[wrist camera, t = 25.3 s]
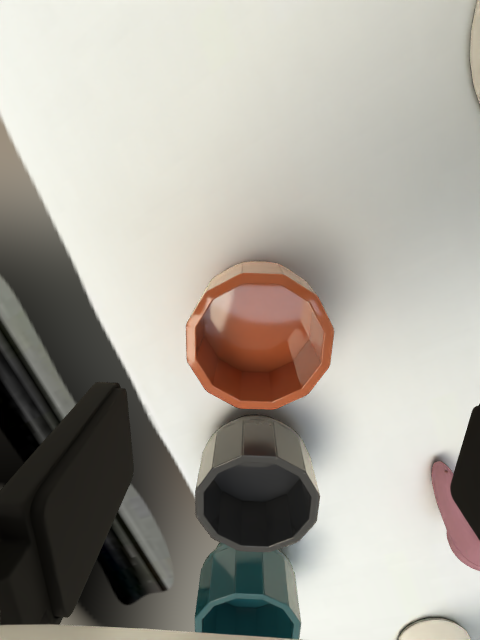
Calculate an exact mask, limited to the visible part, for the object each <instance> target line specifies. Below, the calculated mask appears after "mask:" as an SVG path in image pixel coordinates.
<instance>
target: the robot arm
mask: <svg viewBox="0 0 480 640" xmlns="http://www.w3.org/2000/svg"><path fill="white" fill-rule="evenodd" d="M470 64H471V71H472V78H473V86H474V89H475V92H476V95H477V97H478V100H479V103H480V0H477V4H476V9H475V14H474V19H473V24H472V29H471V45H470ZM133 471H134V464H133V454H132V443H131V433H130V423H129V412H128V401H127V392H126V390H125V389H122V388H120V385H119V384H118V383H108V382H96V383H95V384H94V385H93V386H92V387H91V388H90V389H89V391H88V392H87V393H86V394H85V395H84V396H83V397H82V399H81V400H80V401H79V402H78V403H77V404H76V405H75V407H74V408H73V409H72V410H71V411H70V412H69V413H68V415H67V416H66V417H65V418H64V419H63V420H62V421H61V423H60V424H59V425H58V426H57V427H56V428H55V429H54V430H53V432H52V433H51V434H50V435H49V436H48V437H47V438H46V439H45V440H44V441H43V443H42V444H41V445H40V446H39V447H38V448H37V449H36V451H35V452H34V453H33V454H32V455H31V456H30V457H29V458H28V460H27V461H26V462H25V463H24V464H23V465H22V466H21V468H20V469H19V470H18V471H17V472H16V473H15V474H14V476H13V477H12V478H11V479H10V480H9V481H8V482H7V484H6V485H5V486H4V487H3V488H2V489H1V490H0V640H301V639H287V638H272V637H257V636H243V635H228V634H213V633H198V632H182V631H169V630H154V629H153V630H152V629H138V628H137V629H136V628H116V627H94V626H93V627H92V626H74V625H73V626H72V625H60V622H61V620H62V618H63V617H69V616H70V615H71V614H72V612H73V610H74V608H75V606H76V604H77V602H78V599H79V597H80V595H81V593H82V591H83V588H84V586H85V584H86V581H87V579H88V577H89V575H90V573H91V570H92V568H93V566H94V564H95V561H96V559H97V557H98V555H99V552H100V550H101V548H102V546H103V543H104V541H105V539H106V537H107V534H108V532H109V530H110V528H111V525H112V523H113V521H114V519H115V516H116V514H117V512H118V510H119V507H120V505H121V503H122V501H123V498H124V496H125V494H126V492H127V489H128V487H129V485H130V483H131V480H132V477H133ZM450 492H451V496H452V498H453V500H454V502H455V503H456V505H457V507H458V508H459V510H460V511H461V513H462V514H463V516H464V517H465V519H466V520H467V522H468V524H469V525H470V527H471V528H472V530H473V531H474V533H475V534H476V536H477V537H478V539H479V540H480V404H479V406H476V407H474V408H473V410H472V413H471V417H470V420H469V424H468V427H467V430H466V434H465V437H464V440H463V444H462V447H461V451H460V454H459V457H458V461H457V464H456V467H455V471H454V474H453V477H452V481H451V485H450Z"/></svg>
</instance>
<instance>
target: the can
mask: <svg viewBox="0 0 480 640" xmlns="http://www.w3.org/2000/svg"><path fill="white" fill-rule="evenodd" d="M399 640H471V638H470V636H469V635H468V633H467V632H466V630H465V629H463V628H462V627H461V626H459V625H458V624H456V623H455V622H453V621H451V620H448V619H443V618H427V619H422V620H419V621H416V622H414V623H412V624H410V625H409V626H407V627H406V628H405V629H404V630H403V631H402V632H401V634H400V636H399Z"/></svg>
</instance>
